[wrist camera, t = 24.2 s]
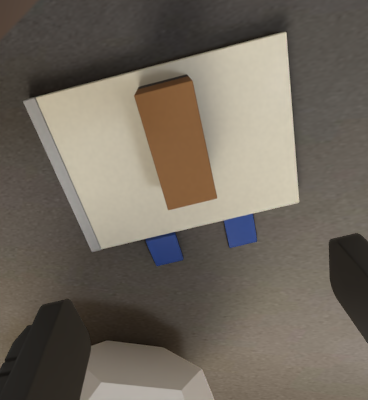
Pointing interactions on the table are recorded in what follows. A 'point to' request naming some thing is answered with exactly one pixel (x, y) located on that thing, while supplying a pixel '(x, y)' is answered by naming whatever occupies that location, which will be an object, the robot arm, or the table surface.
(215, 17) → the table surface
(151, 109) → the eraser
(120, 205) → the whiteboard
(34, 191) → the table surface
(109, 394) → the geometric form
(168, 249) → the blue rectangular block
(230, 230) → the blue flat block
